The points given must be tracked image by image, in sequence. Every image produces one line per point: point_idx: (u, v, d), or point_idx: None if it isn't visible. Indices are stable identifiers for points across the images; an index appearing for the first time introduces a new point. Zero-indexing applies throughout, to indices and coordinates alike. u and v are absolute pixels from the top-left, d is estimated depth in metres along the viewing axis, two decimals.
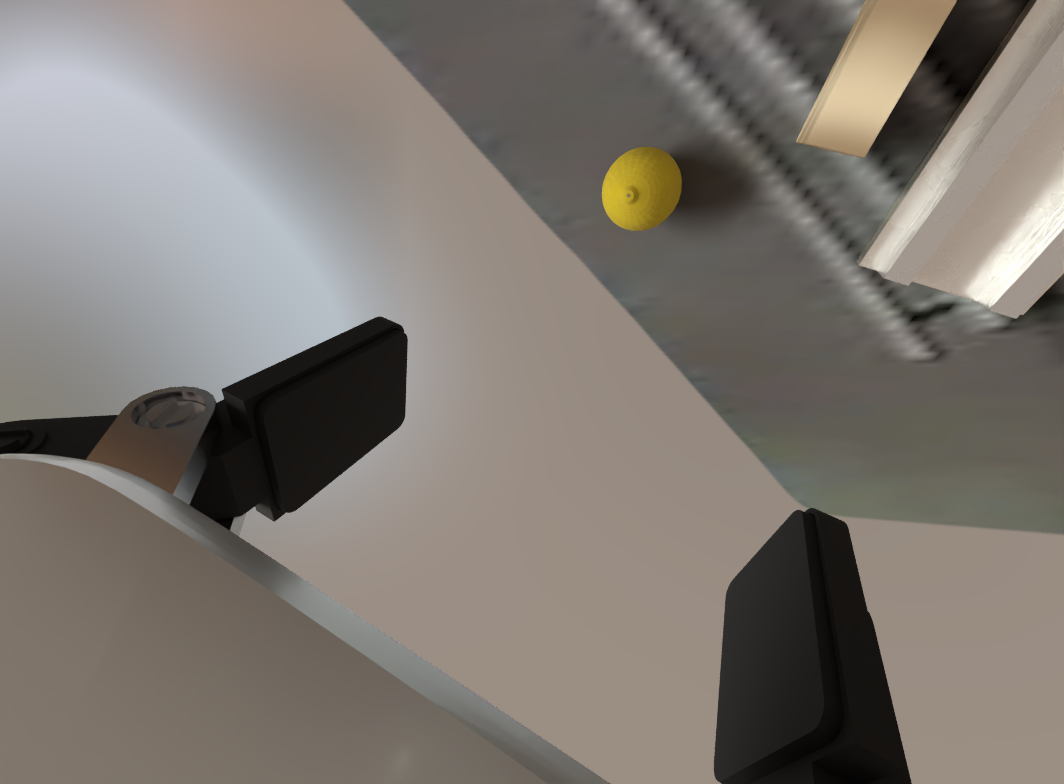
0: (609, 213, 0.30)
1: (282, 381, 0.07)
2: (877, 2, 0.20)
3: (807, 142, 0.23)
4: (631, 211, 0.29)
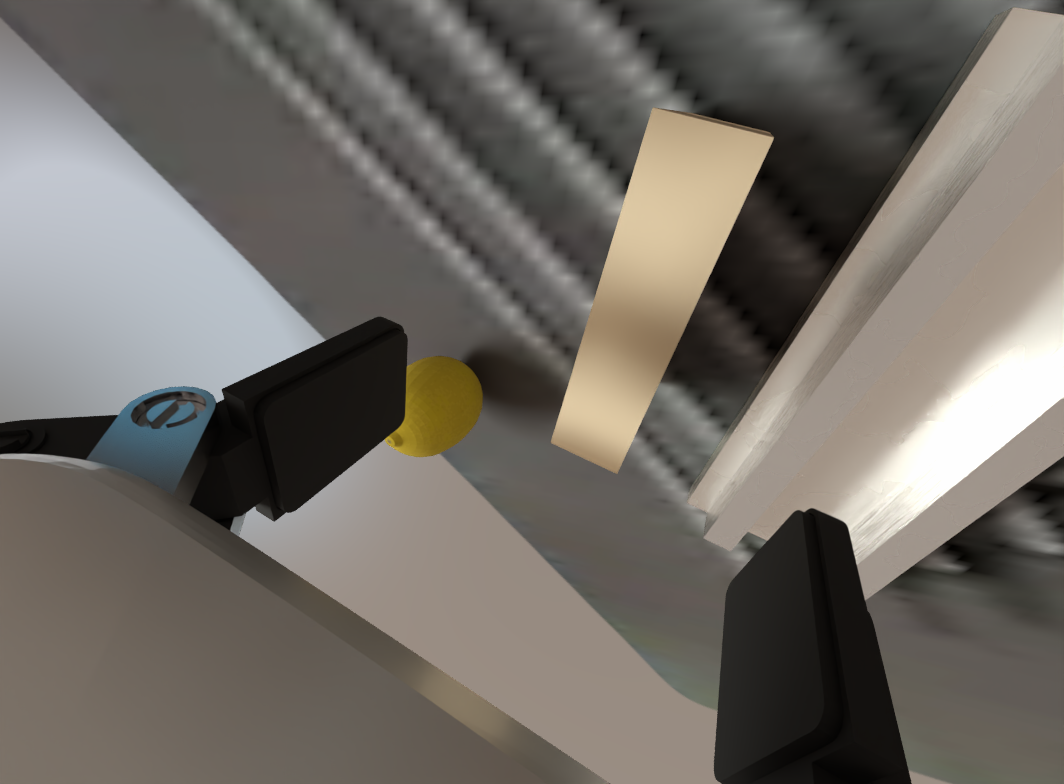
0: None
1: (282, 381, 0.07)
2: (588, 322, 0.14)
3: (552, 442, 0.18)
4: (402, 451, 0.24)
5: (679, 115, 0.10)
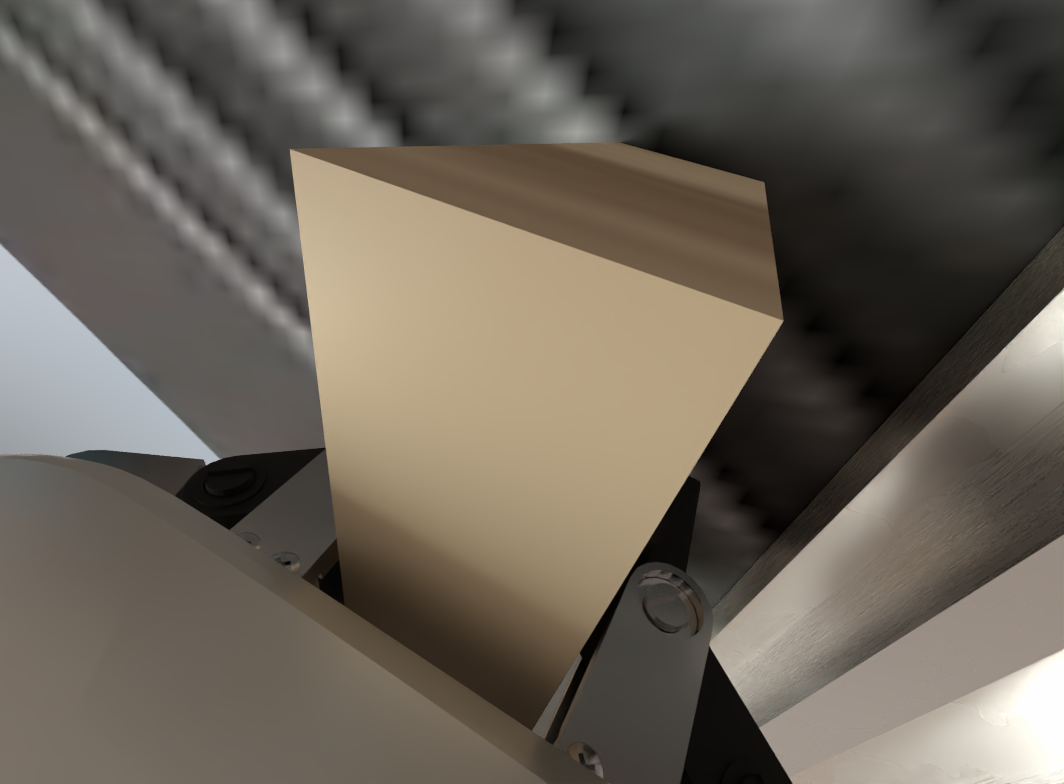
0: None
1: None
2: None
3: None
4: None
5: (382, 184, 0.02)
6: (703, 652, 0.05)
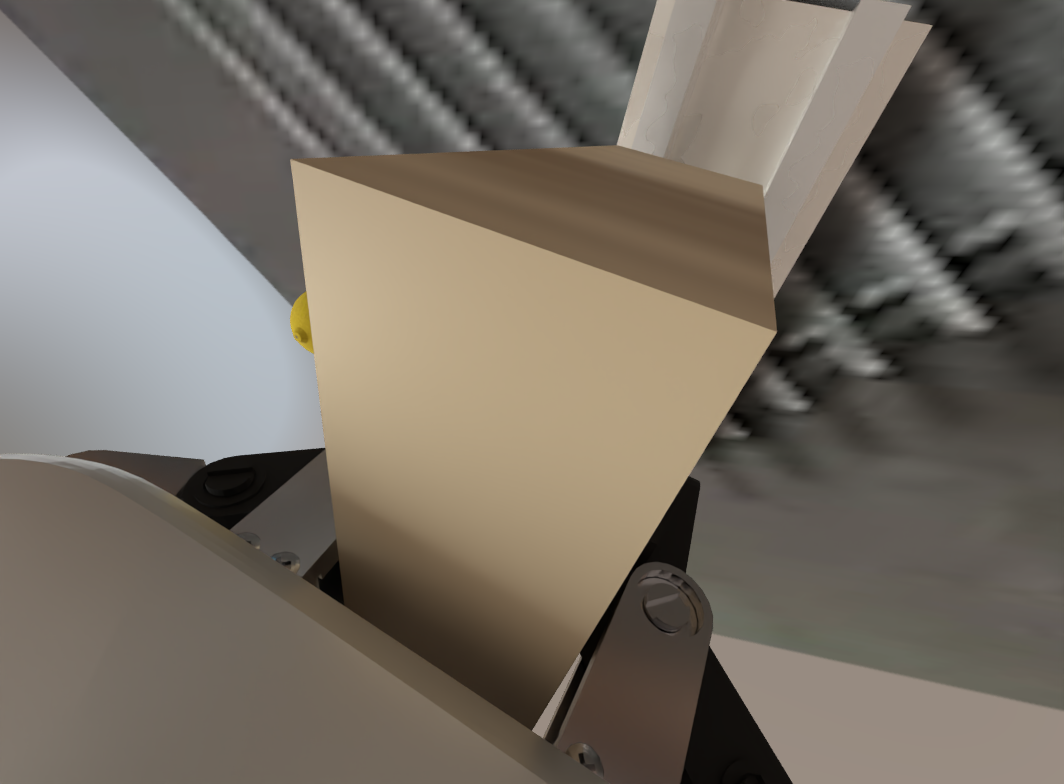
0: None
1: None
2: None
3: None
4: (309, 348, 0.29)
5: (381, 195, 0.03)
6: (703, 652, 0.05)
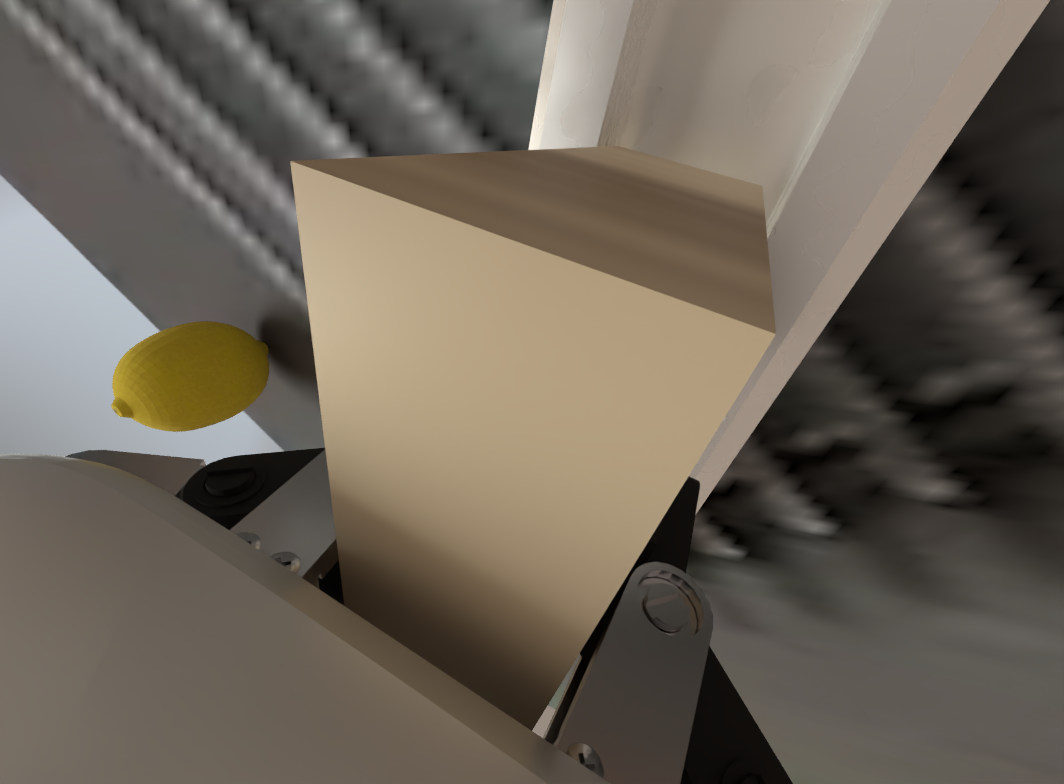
0: None
1: None
2: None
3: None
4: (141, 423, 0.21)
5: (381, 197, 0.03)
6: (703, 652, 0.05)
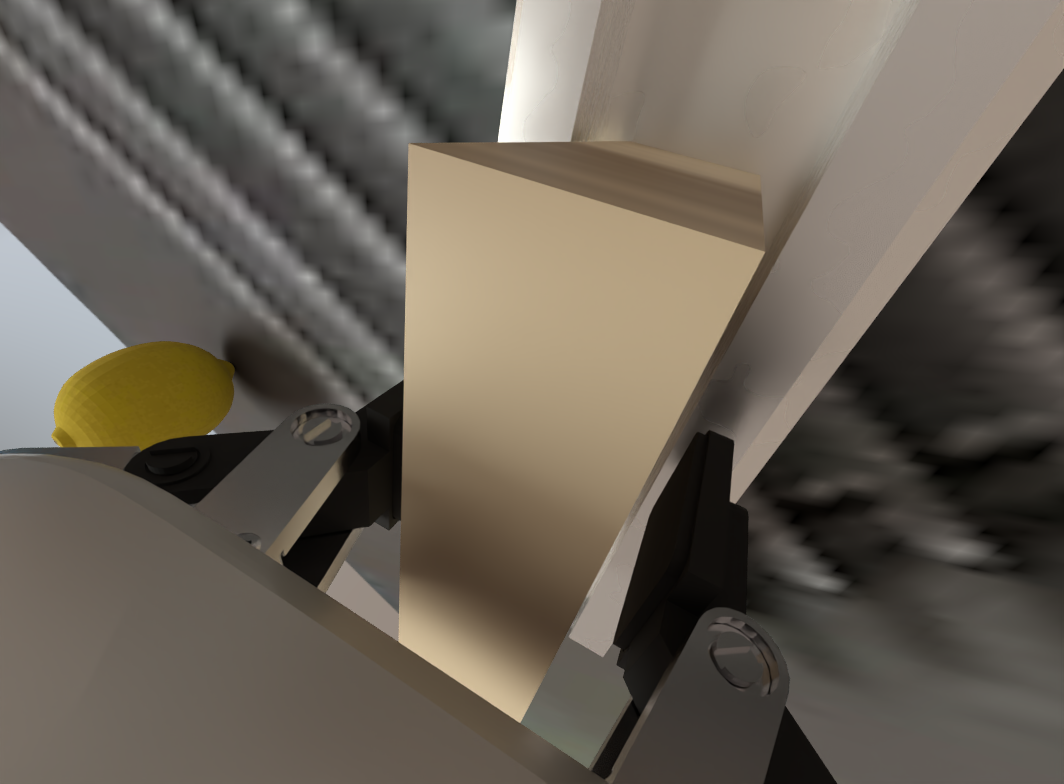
0: None
1: None
2: (404, 553, 0.07)
3: None
4: None
5: (479, 168, 0.03)
6: (777, 716, 0.05)
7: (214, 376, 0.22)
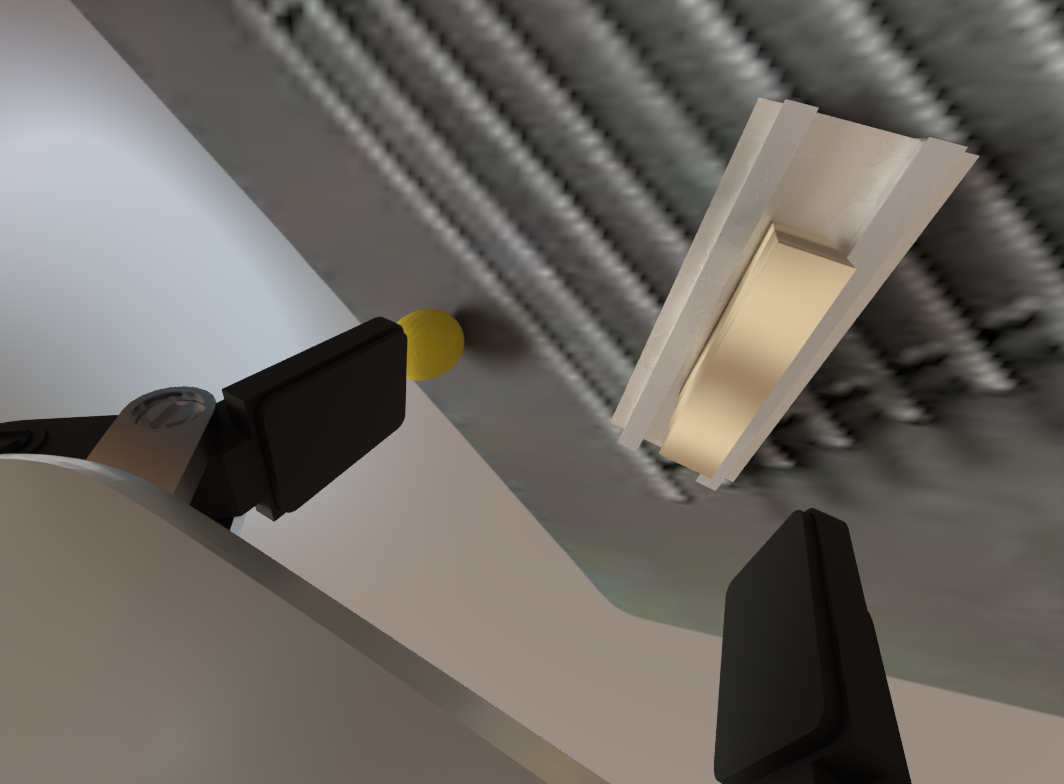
0: None
1: (283, 381, 0.07)
2: (707, 369, 0.21)
3: (660, 454, 0.24)
4: None
5: (795, 249, 0.17)
6: None
7: (461, 332, 0.35)
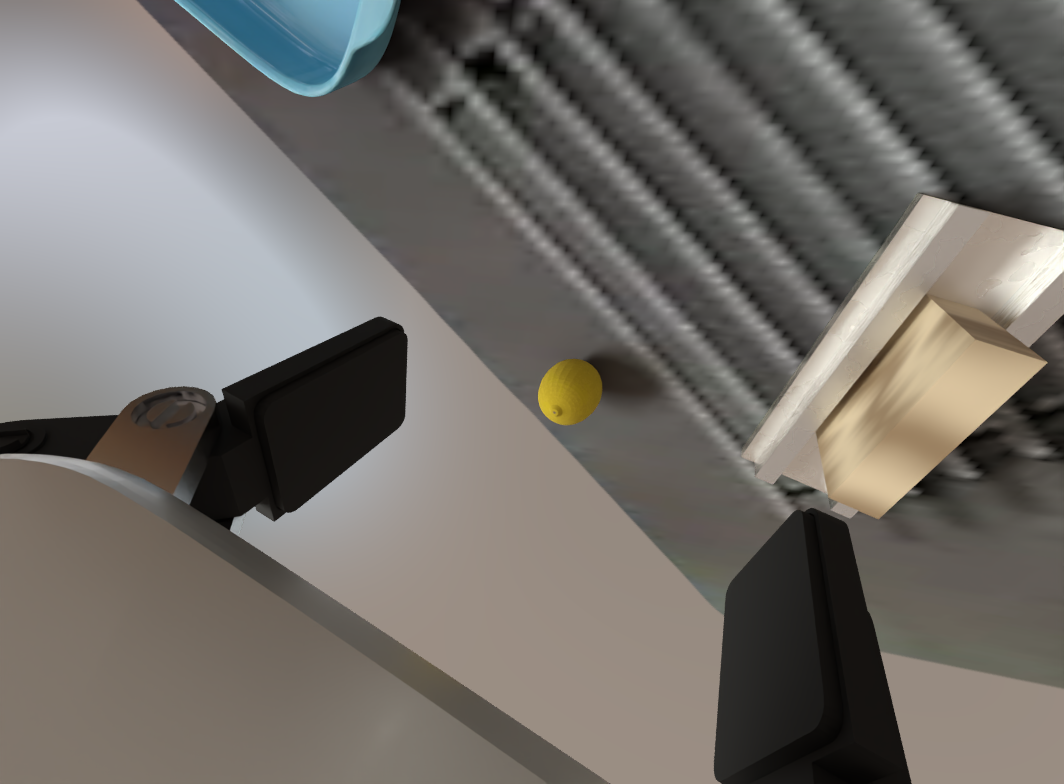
0: None
1: (282, 382, 0.07)
2: (889, 432, 0.24)
3: (830, 498, 0.28)
4: (558, 419, 0.36)
5: (991, 345, 0.20)
6: None
7: None
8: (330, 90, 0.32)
